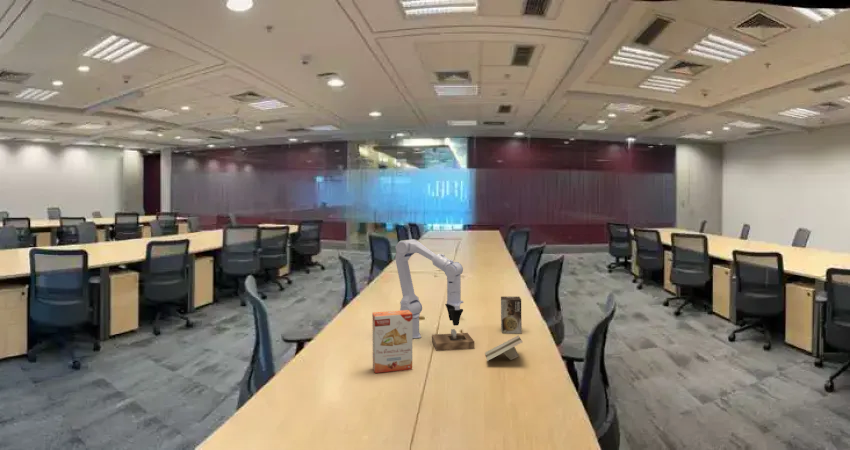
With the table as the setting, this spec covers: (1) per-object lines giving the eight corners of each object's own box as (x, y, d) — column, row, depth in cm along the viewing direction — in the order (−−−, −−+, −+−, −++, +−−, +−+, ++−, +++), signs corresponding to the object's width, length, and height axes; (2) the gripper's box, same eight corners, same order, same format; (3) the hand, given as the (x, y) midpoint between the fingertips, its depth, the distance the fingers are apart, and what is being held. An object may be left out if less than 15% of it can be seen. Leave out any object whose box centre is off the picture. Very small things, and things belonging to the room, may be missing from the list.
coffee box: (520, 329, 200) (520, 296, 199) (521, 333, 193) (521, 299, 192) (500, 329, 200) (500, 296, 200) (501, 333, 194) (501, 299, 193)
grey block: (453, 346, 177) (452, 332, 176) (451, 343, 181) (451, 329, 180) (464, 345, 177) (464, 331, 177) (462, 342, 181) (462, 328, 181)
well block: (436, 350, 171) (436, 343, 171) (431, 341, 183) (431, 334, 183) (474, 348, 174) (474, 341, 174) (467, 339, 186) (467, 332, 185)
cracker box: (374, 374, 148) (374, 316, 147) (372, 368, 154) (371, 311, 153) (413, 369, 152) (412, 313, 151) (409, 363, 158) (408, 309, 157)
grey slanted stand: (502, 379, 152) (533, 352, 152) (486, 360, 154) (517, 334, 154) (499, 369, 169) (527, 344, 169) (484, 352, 170) (512, 328, 170)
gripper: (467, 294, 172) (467, 327, 172) (459, 287, 186) (459, 317, 187) (450, 295, 171) (450, 327, 171) (443, 288, 185) (443, 318, 186)
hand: (453, 322), depth 179 cm, fingers open, 7 cm apart
